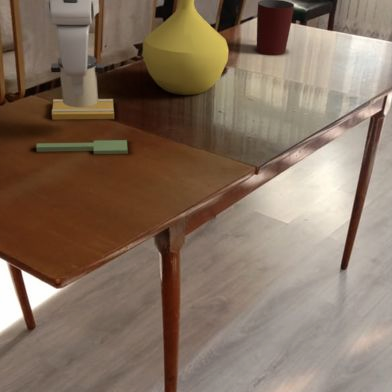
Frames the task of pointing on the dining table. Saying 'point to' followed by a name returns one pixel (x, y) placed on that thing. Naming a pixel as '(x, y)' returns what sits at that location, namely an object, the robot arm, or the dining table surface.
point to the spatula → (87, 147)
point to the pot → (88, 81)
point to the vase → (185, 52)
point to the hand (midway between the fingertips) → (79, 85)
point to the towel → (83, 110)
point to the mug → (273, 26)
